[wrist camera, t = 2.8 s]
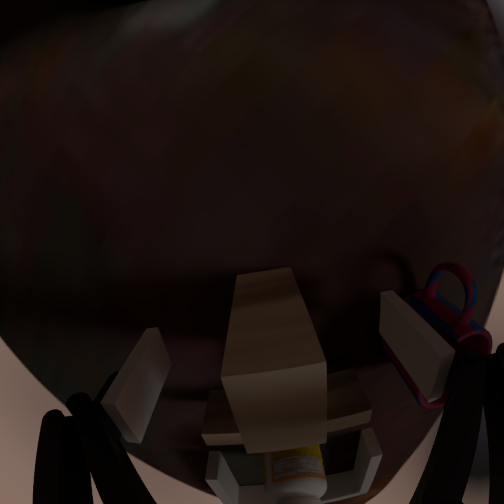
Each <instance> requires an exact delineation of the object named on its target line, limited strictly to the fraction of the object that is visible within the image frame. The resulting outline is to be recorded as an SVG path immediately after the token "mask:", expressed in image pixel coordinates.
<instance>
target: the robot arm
mask: <svg viewBox="0 0 504 504" xmlns="http://www.w3.org/2000/svg"><path fill="white" fill-rule="evenodd" d="M90 1H92V2H95V3H99V4H107V5H115V4H125V3H131V2H136V1H140V0H90ZM379 333H380V334H381V335H382V337H383V338H384V340H385V341H386V342H387V344H388V345H389V346H390V348H391V349H392V351H393V352H394V353H395V355H396V356H397V358H398V359H399V361H400V362H401V363H402V365H403V366H404V368H405V369H406V371H407V372H408V373H409V375H410V376H411V378H412V379H413V381H414V382H415V384H416V385H417V387H418V388H419V390H420V391H421V393H422V394H423V396H424V397H425V399H426V400H427V402H428V403H429V402H431V401H434V400H436V399H438V398H440V397H441V396H442V394H443V391H444V388H445V389H446V390H447V392H448V395H447V398H446V401H445V403H444V406H443V409H444V410H443V414H442V418H441V422H440V425H439V429H438V432H437V435H436V438H435V441H434V445H433V448H432V450H431V453H430V456H429V459H428V462H427V464H426V467H425V469H424V472H423V474H422V476H421V479H420V481H419V483H418V486H417V488H416V490H415V492H414V495H413V497H412V498H411V501H410V503H409V504H463V503H462V497H463V494H464V491H465V488H466V485H467V482H468V478H469V475H470V471H471V467H472V464H473V459H474V455H475V451H476V446H477V441H478V435H479V429H480V423H481V416H482V407H483V406H484V413H485V419H486V427H487V436H488V447H489V465H490V466H489V468H490V488H489V489H490V490H489V504H504V343H501V344H500V345H498V347H497V350H496V353H494V354H489V355H483V353H482V352H480V351H478V350H474V349H468V350H467V349H466V348H465V347H463V346H462V345H461V344H460V343H459V342H458V341H457V340H456V339H455V338H454V337H452V335H451V334H450V333H449V332H448V331H447V330H446V329H445V328H443V327H442V326H440V325H438V324H436V323H432V324H428V323H427V322H426V321H425V320H424V319H423V318H422V317H421V316H419V315H418V314H417V313H416V312H415V311H414V310H413V309H412V308H411V307H410V306H409V305H408V304H407V303H406V302H405V301H403V300H402V299H401V298H400V297H399V296H398V295H397V294H396V293H395V292H394V291H392V290H390V291H386V292H381V301H380V327H379ZM171 364H172V363H171V361H170V358H169V356H168V353H167V350H166V348H165V345H164V342H163V340H162V337H161V334H160V331H159V329H158V327H156V328H147V329H146V330H145V332H144V333H143V335H142V336H141V338H140V340H139V341H138V343H137V344H136V346H135V347H134V349H133V350H132V352H131V354H130V355H129V357H128V358H127V360H126V362H125V363H124V365H123V366H122V368H121V370H120V371H119V372H114V373H113V374H112V375H111V376H110V377H109V378H108V379H107V381H106V382H105V385H103V387H102V390H100V392H99V393H98V395H97V397H96V398H95V400H94V401H93V402H92V400H91V398H90V397H89V395H88V394H86V393H83V392H80V393H76V394H74V395H72V396H71V397H70V398H69V399H68V400H67V402H66V407H67V408H68V410H69V411H70V413H71V414H72V416H66V417H65V416H64V415H63V414H62V412H61V411H60V410H57V409H54V410H50V411H48V412H47V413H46V414H45V415H44V417H43V419H42V424H41V429H40V435H39V441H38V447H37V455H36V462H35V472H34V484H33V485H34V486H33V504H93V496H92V487H91V475H92V478H93V480H94V483H95V485H96V488H97V490H98V493H99V495H100V497H101V500H102V502H103V504H157V503H156V502H155V500H154V499H153V497H152V496H151V494H150V493H149V491H148V490H147V488H146V486H145V485H144V483H143V481H142V480H141V478H140V476H139V475H138V473H137V471H136V469H135V467H134V465H133V464H132V462H131V460H130V458H129V456H128V454H127V452H126V450H125V448H124V446H123V444H122V443H121V442H120V440H119V439H120V437H121V435H123V437H124V438H125V439H126V441H127V442H133V443H141V441H142V439H143V436H144V433H145V431H146V428H147V425H148V423H149V420H150V417H151V415H152V412H153V410H154V407H155V404H156V402H157V399H158V397H159V394H160V392H161V389H162V387H163V384H164V382H165V379H166V377H167V374H168V372H169V369H170V367H171ZM90 472H91V475H90Z"/></svg>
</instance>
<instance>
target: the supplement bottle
mask: <svg viewBox="0 0 504 504" xmlns="http://www.w3.org/2000/svg"><path fill="white" fill-rule="evenodd" d="M264 489H265V496H266V498H267V499H268V500H269V501H270V502H272V503H274V504H322V502H321V500H320V499H319V498H320V497H322V496H323V495H324V493H325V492H326V490H327V481H326V476H325V471H324V466H323V461H322V456H321V451H320V447H319V444H318V445H312V446H307V447H301V448H295V449H288V450H280V451H272V452H264Z"/></svg>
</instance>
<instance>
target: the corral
mask: <svg viewBox="0 0 504 504" xmlns="http://www.w3.org/2000/svg"><path fill="white" fill-rule="evenodd" d="M381 457H382V451H381V449H380V446H379V444H378V441H377V439H376V436H375V434H374V431H373V429H372V427H370V428H366V429H363V430H361V434H360V440H359V445H358V450H357V455H356V460H355V464H354V468H353V470H349V471H345V472H341V473H337V474H332V475H328V476H326V481H327V490H326V492H325V493H324V495H323V496H322V497H320V498H319V499H320V500H321V502H322V504H323V503H328V502H333V501H337V500H342V499H346V498H350V497H354V496H357V495H361V494H364V493H368V490H369V488H370V486H371V483H372V481H373V478H374V476H375V473H376V471H377V468H378V465H379V463H380V460H381ZM205 480H206V482H207V483H208V484H209V486H210V487H211V488H212V490H213V491H214V492H215V494H216V495H217V496H218V497H219V499H220V500H221V501H222V502H223V504H274V503H272V502H270V501H269V500H268V499H267V498H266V496H265V489H264V485H252V486H239V485H238V483H237V482H236V480H235V478H234V476H233V474H232V473H231V471H230V469H229V467H228V465H227V463H226V461H225V459H224V458H223V456H222V454H221V452H220V451H209V455H208V462H207V469H206V476H205Z"/></svg>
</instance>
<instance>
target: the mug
mask: <svg viewBox="0 0 504 504" xmlns="http://www.w3.org/2000/svg"><path fill="white" fill-rule="evenodd" d="M445 270H448V271H450V272H452V273H454V274H455V275H456V276H457V277H458V278H459V279H460V281H461V282H462V284H463V286H464V290H465V296H466V299H465V305H464V309H463V311H462V310H461V309H459V308H458V307H457V306H456V305H454V304H453V303H452V302H450V301H449V300H448V299H446V298H445V297H444V296H442V295H441V294H439V293H438V292H437V291H436V287H437V283H438V281H439V278H440V277H441V275H442V273H443V272H444V271H445ZM403 301H405V302H406V303H407V304H408V305H409V306H410V307H411V308H412V309H413V310H414V311H415V312H416V313H417V314H418V315H419V316H421V317H422V318H423V319H424V320H425V321H426V322H427V323H428V324H432V323H436V324H438V325H440V326H442V327H443V328H445V329H446V330H447V331H448V332H449V333H450V334H451V335H452V337H454V338H455V339H456V340H457V341H458V342H459V343H460V344H461V345H462V346H463V347H465V348H466V349H467V350H468V349H474V350H478V351H480V352H482V353H483V355H489V354H491V349H492V337H491V335H490V333H489V332H488V331H487V330H486V329H485V328H483V327H482V326H481V325H480V324H479V323H477V322H476V321H475V320H474V319H472V318H471V317H472V315H473V313H474V310H475V306H476V302H477V286H476V283H475V280H474V278H473V276H472V275H471V273H470V272H469V271H468V270H467V269H466V268H465V267H464V266H462V265H460V264H458V263H454V262H445V263H441V264H439V265H438V266H436V267H435V268H434V269H433V270H432V272H431V273H430V275H429V277H428V280H427V282H426V285H425V288H424V290H420V291H417V292H415V293H413V294H411V295H409V296H407V297H406V298H405V299H403ZM382 346H383V348H384V351H385V352H386V354H387V355H388V357H389V358H390V360H391V361H392V363H393V364H394V366H395V367H396V369H397V371H398V372H399V374H400V375H401V377H402V378H403V380H404V381H405V383H406V384H407V386H408V388H409V389H410V391H411V392H412V394H413V396H414V397H415V399H416V400H417V402H418V404H419V405H420V406H421V407H422V408H424V409H428V410H434V409H438V408H441V407H443V406H444V403H445V401H446V398H447V395H448V392H447V390H446V389H445V388H444V391H443V394H442V396H441V397H440V398H438V399H436V400H434V401H431V402H429V403H428V402H427V400H426V399H425V397H424V396H423V394H422V393H421V391H420V390H419V388H418V387H417V385H416V384H415V382H414V381H413V379H412V378H411V376H410V375H409V373H408V372H407V371H406V369H405V368H404V366H403V365H402V363H401V362H400V361H399V359H398V358H397V356H396V355H395V353H394V352H393V351H392V349H391V348H390V346H389V345H388V344H387V342H386V341H385V340H384V338H383V337H382Z"/></svg>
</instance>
